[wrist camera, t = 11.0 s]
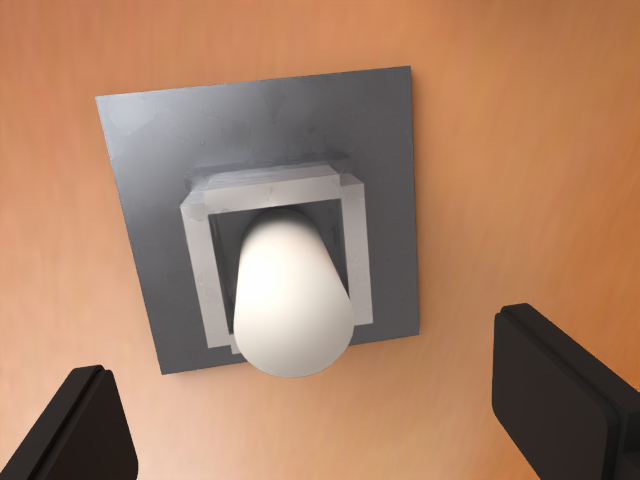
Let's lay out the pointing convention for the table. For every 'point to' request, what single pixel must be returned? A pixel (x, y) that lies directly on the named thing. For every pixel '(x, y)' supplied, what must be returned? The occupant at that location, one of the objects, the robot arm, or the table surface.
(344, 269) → the bracket
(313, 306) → the white cylinder
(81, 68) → the table surface
